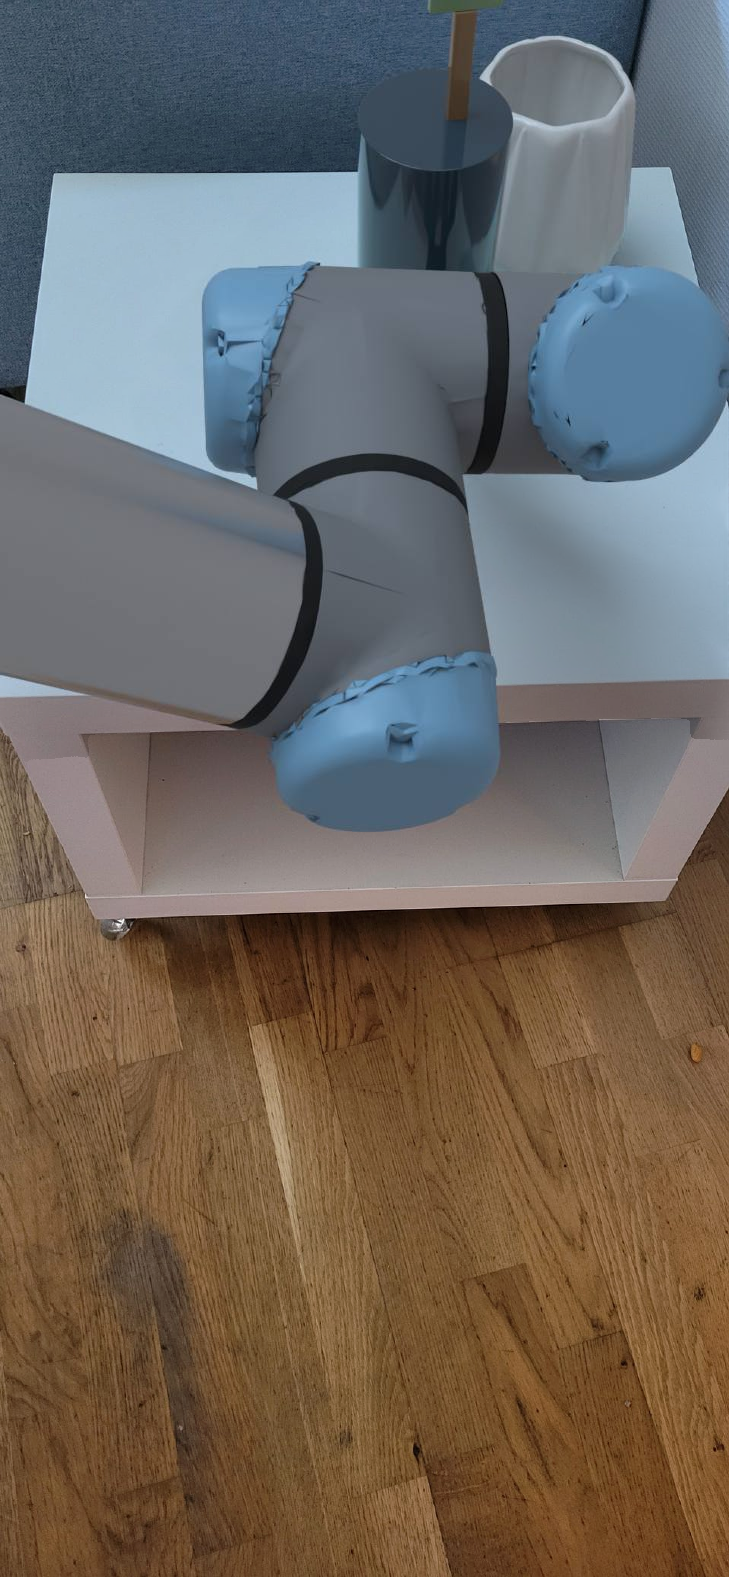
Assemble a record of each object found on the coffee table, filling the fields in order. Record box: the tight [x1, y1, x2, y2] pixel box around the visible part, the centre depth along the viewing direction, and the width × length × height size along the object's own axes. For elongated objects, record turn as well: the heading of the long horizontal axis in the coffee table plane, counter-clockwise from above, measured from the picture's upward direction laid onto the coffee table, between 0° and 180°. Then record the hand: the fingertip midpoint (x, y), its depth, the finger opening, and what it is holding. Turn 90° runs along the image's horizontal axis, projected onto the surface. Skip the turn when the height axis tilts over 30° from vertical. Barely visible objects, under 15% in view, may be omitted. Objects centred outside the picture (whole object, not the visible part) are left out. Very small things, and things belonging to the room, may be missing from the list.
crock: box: [356, 0, 513, 273], centre depth 71 cm, size 9×9×34 cm
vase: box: [478, 35, 637, 274], centre depth 85 cm, size 14×14×15 cm
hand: (435, 379), depth 77 cm, fingers closed
